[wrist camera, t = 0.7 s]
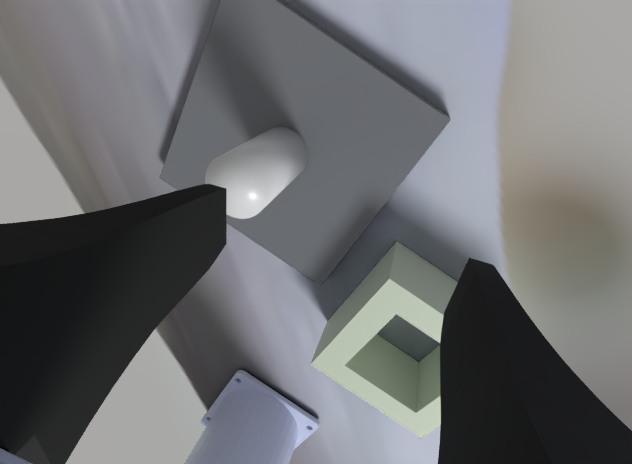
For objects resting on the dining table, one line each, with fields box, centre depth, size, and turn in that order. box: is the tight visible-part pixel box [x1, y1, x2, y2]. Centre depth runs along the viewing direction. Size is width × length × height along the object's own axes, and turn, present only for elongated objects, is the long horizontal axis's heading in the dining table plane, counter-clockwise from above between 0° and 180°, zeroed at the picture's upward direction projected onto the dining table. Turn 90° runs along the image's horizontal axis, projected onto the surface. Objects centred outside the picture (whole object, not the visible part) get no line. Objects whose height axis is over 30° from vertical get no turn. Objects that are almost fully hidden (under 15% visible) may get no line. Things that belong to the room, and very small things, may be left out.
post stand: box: [159, 0, 450, 286], centre depth 18 cm, size 12×12×6 cm
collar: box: [310, 241, 458, 438], centre depth 22 cm, size 8×8×4 cm
